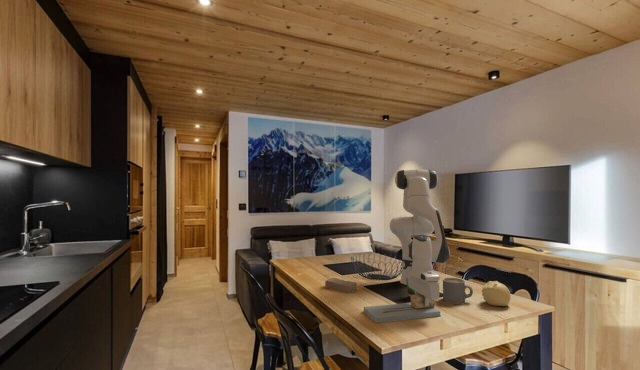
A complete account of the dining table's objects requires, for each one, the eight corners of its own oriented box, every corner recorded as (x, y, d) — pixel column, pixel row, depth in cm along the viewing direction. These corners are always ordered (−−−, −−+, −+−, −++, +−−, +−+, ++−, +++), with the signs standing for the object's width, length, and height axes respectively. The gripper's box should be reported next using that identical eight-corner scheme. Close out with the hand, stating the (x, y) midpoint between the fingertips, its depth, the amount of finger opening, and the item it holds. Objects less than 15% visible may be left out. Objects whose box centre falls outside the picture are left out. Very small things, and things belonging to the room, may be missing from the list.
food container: (414, 300, 155) (414, 280, 156) (405, 297, 161) (405, 277, 161) (432, 297, 161) (432, 277, 161) (423, 293, 167) (423, 274, 167)
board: (423, 305, 149) (423, 301, 149) (440, 316, 136) (440, 311, 136) (363, 311, 142) (363, 306, 142) (375, 322, 129) (375, 317, 129)
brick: (357, 290, 174) (357, 281, 174) (349, 293, 168) (349, 284, 168) (333, 285, 184) (333, 277, 184) (324, 288, 178) (324, 280, 178)
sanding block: (428, 304, 145) (428, 293, 145) (434, 307, 140) (434, 296, 140) (410, 306, 143) (410, 294, 143) (416, 309, 138) (415, 298, 138)
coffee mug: (441, 301, 154) (440, 281, 155) (445, 296, 163) (445, 276, 163) (471, 306, 147) (470, 285, 147) (474, 300, 155) (473, 280, 156)
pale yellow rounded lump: (483, 298, 159) (483, 276, 159) (511, 303, 152) (511, 280, 152) (480, 305, 149) (479, 282, 150) (509, 310, 142) (509, 286, 143)
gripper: (404, 267, 151) (404, 296, 151) (428, 278, 131) (429, 312, 131) (416, 266, 153) (416, 295, 152) (442, 277, 133) (442, 310, 133)
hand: (422, 303), depth 142 cm, fingers closed on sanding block, 4 cm apart
